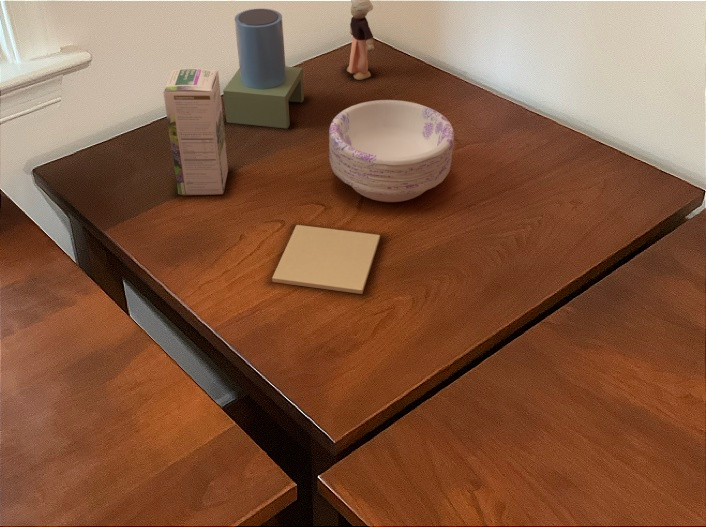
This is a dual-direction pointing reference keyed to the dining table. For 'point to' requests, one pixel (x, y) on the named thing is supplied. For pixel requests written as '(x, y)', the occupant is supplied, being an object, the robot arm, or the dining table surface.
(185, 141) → the syrup box
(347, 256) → the mat
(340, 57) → the dining table surface
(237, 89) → the shelf
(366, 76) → the grandmother figurine
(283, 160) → the dining table surface
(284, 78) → the cup
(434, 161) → the paper bowls
